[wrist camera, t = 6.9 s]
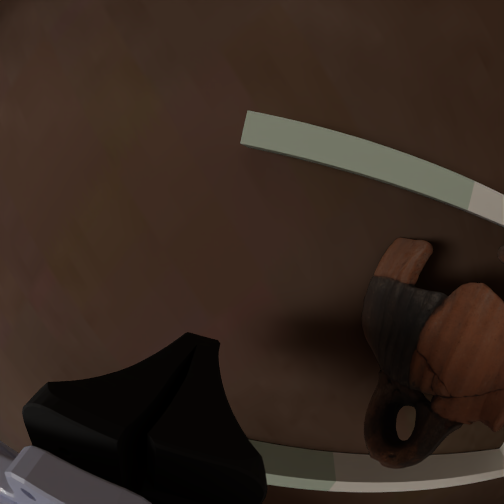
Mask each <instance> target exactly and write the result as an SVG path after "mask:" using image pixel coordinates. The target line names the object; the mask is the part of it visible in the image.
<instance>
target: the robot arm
mask: <svg viewBox="0 0 504 504" xmlns="http://www.w3.org/2000/svg"><path fill="white" fill-rule="evenodd" d="M219 347H220V343H219V341H218V340H215V339H211V338H207V337H203V336H200V335H196V334H193V333H189V332H187V333H185V334H184V335H182V336H181V337H179V338H178V339H177V340H175V341H174V342H173V343H171V344H170V345H168V346H167V347H165V348H164V349H162V350H160V351H159V352H157V353H156V354H154V355H152V356H150V357H149V358H147V359H145V360H143V361H141V362H139V363H137V364H135V365H133V366H130V367H128V368H125V369H123V370H120V371H117V372H113V373H110V374H106V375H103V376H99V377H94V378H89V379H83V380H75V381H61V382H48V383H46V384H45V385H44V386H43V387H42V388H41V389H40V390H39V391H38V392H37V393H36V394H35V395H34V396H33V397H32V398H31V399H30V400H29V401H28V403H27V404H26V405H25V406H24V407H23V411H22V414H23V419H24V423H25V426H26V429H27V431H28V434H29V437H30V439H31V442H32V446H27V447H24V448H23V449H22V450H21V452H20V453H18V452H16V451H15V450H13V449H12V448H10V447H9V446H7V445H6V444H4V443H3V442H2V441H0V504H262V502H263V500H264V499H265V497H266V493H267V478H266V472H265V467H264V463H263V458H262V456H261V455H260V453H259V452H258V451H257V450H256V449H255V447H254V446H253V445H252V444H251V442H250V441H249V440H248V438H247V437H246V435H245V434H244V432H243V431H242V429H241V427H240V425H239V424H238V422H237V420H236V418H235V416H234V414H233V412H232V410H231V408H230V405H229V403H228V400H227V397H226V394H225V391H224V388H223V384H222V380H221V375H220V368H219V358H218V352H219Z"/></svg>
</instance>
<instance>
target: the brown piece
mask: <svg viewBox="0 0 504 504" xmlns="http://www.w3.org/2000/svg"><path fill="white" fill-rule="evenodd" d="M432 253H433V247H432V245H431V244H430V243H429V242H427V241H425V240H413V239H407V238H401V237H400V238H397V239H396V240H395V241H394V242H393V243H392V244H391V245H390V246H389V248H388V249H387V250H386V252H385V254H384V256H383V257H382V258H381V260H380V262H379V264H378V267H377V268H376V270H375V273H374V276H373V277H372V279H371V281H370V284H369V287H368V290H367V293H366V296H365V298H364V306H363V311H362V328H363V331H364V335H365V338H366V340H367V342H368V344H369V345H370V347H371V348H372V351H373V353H374V355H375V357H376V359H377V361H378V363H379V365H380V368H381V370H380V372H379V382H378V385H377V388H376V390H375V392H374V394H373V396H372V398H371V401H370V403H369V406H368V409H367V412H366V416H365V422H364V438H365V442H366V446H367V449H368V450H369V454H370V457H371V458H373V459H374V460H377V461H379V462H380V463H381V465H382V466H384V467H387V468H392V469H401V468H406V467H410V466H413V465H416V464H418V463H420V462H422V461H423V460H424V459H426V458H427V457H428V456H429V455H431V454H432V453H433V452H434V451H435V449H436V448H437V447H438V446H439V445H440V443H441V442H442V441H443V440H444V439H445V438H446V437H447V436H448V435H449V434H450V433H452V432H453V431H455V430H457V429H459V428H460V427H461V426H462V425H463V424H472V423H473V422H476V421H481V422H482V423H484V424H485V425H487V426H488V427H489V428H491V430H492V431H493V432H496V431H498V430H500V429H501V428H502V427H503V426H504V301H503V300H502V299H501V298H500V297H499V296H498V295H497V294H495V293H494V292H493V291H492V290H491V288H489V287H488V286H487V285H486V284H484V283H467V284H463V285H461V286H460V287H458V288H457V289H456V290H454V291H453V292H452V294H451V295H449V296H447V295H446V294H444V293H442V292H435V291H428V290H425V289H421V288H416V287H415V284H416V282H417V280H418V277H419V274H420V272H421V271H422V269H423V267H424V265H425V264H426V262H427V260H428V259H429V257H430V256H431V254H432ZM497 255H498V258H499V259H500V261H501V262H502V263H503V264H504V245H503V246H501V247H500V248H499V250H498V252H497ZM423 393H424V394H431V395H433V397H432V400H431V402H430V401H429V400H428V399H427V398H426V397H425V396H424V394H423ZM408 405H409V406H412V407H414V408H415V409H416V421H415V427H414V430H413V433H412V435H411V436H410V437H409V439H408V440H406V441H402V440H400V439H399V437H398V435H397V431H396V418H397V414H398V412H399V410H400V409H401V408H402V407H403V406H408Z"/></svg>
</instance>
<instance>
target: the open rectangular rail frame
mask: <svg viewBox="0 0 504 504" xmlns="http://www.w3.org/2000/svg"><path fill="white" fill-rule="evenodd" d="M240 144H242V145H244V146H246V147H249V148H254V149H258V150H263V151H267V152H272V153H276V154H281V155H285V156H289V157H293V158H297V159H301V160H305V161H309V162H313V163H317V164H321V165H325V166H328V167H332V168H336V169H339V170H343V171H346V172H350V173H353V174H357V175H360V176H364V177H367V178H370V179H373V180H377V181H380V182H383V183H386V184H389V185H393V186H396V187H399V188H402V189H405V190H408V191H411V192H414V193H416V194H419V195H422V196H425V197H428V198H431V199H433V200H436V201H439V202H442V203H444V204H447V205H450V206H452V207H455V208H458V209H460V210H463V211H465V212H468V213H470V214H473V215H475V216H478V217H480V218H483V219H485V220H488V221H490V222H492V223H495V224H497V225H499V226H502V227H504V195H503V194H501V193H499V192H497V191H495V190H493V189H491V188H488V187H486V186H484V185H482V184H480V183H478V182H475V181H473V180H471V179H469V178H466V177H464V176H462V175H460V174H457V173H455V172H452V171H450V170H448V169H445V168H443V167H440V166H438V165H435V164H433V163H430V162H428V161H425V160H422V159H420V158H417V157H414V156H412V155H409V154H406V153H403V152H400V151H398V150H395V149H392V148H389V147H386V146H383V145H380V144H377V143H374V142H371V141H367V140H364V139H361V138H358V137H354V136H351V135H348V134H344V133H341V132H337V131H333V130H330V129H326V128H322V127H319V126H315V125H311V124H307V123H303V122H299V121H294V120H290V119H286V118H281V117H277V116H272V115H268V114H263V113H258V112H253V111H248V112H247V116H246V120H245V125H244V129H243V133H242V138H241V142H240ZM248 440H249V439H248ZM249 441H250V442H251V444H252V445H253V446H254V447H255V449H256V450H257V451H258V452H259V453H260V455H261V456H262V458H263V463H264V467H265V472H266V478H267V484H268V485H275V486H282V487H290V488H299V489H309V490H322V491H338V492H397V491H413V490H425V489H435V488H443V487H451V486H458V485H464V484H470V483H475V482H480V481H485V480H490V479H495V478H499V477H503V476H504V443H503V445H502V446H501V447H500V448H499V449H493V450H485V451H477V452H467V453H456V454H441V455H429V456H428V457H427V458H426V459H424V460H423V461H422V462H420V463H418V464H416V465H413V466H410V467H406V468H401V469H392V468H387V467H384V466H382V465H381V463H380V462H379V461H377V460H374V459H373V458H371V457H370V455H365V454H350V453H338V452H327V451H318V450H310V449H302V448H295V447H288V446H282V445H276V444H270V443H265V442H260V441H254V440H249Z"/></svg>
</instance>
